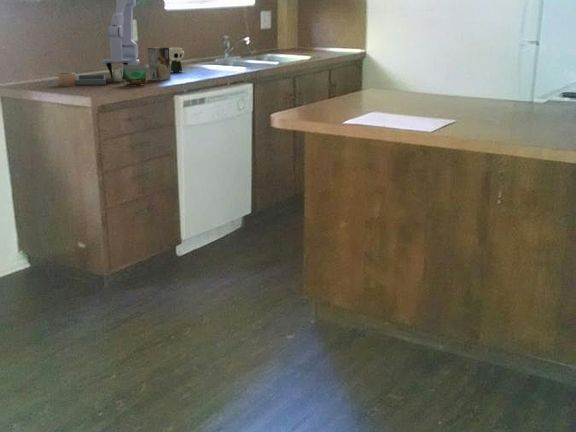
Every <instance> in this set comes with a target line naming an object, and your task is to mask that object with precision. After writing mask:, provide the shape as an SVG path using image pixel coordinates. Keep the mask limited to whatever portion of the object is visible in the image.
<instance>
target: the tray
mask: <svg viewBox="0 0 576 432" xmlns="http://www.w3.org/2000/svg"><path fill="white" fill-rule="evenodd" d="M106 85H107V75H106V74H77V75H76V86H106Z"/></svg>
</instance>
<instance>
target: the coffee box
mask: <svg viewBox="0 0 576 432" xmlns="http://www.w3.org/2000/svg"><path fill="white" fill-rule="evenodd" d="M169 48H170V47H164V46H157V47H147V57H148V58H147V59H148V77H149V81H155V80H156V81H165V80H171V62H170V61H171V60H170V58H169Z"/></svg>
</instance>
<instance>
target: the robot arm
mask: <svg viewBox="0 0 576 432" xmlns="http://www.w3.org/2000/svg"><path fill="white" fill-rule="evenodd" d="M115 2H116V5H115V6H116V7H115V12H114V13H113V14H112V17H111V21H110V25H109V26H108V27H107V31H106V32H107V37H108V41H109V49H110V58H109V59H107V58H106V59H101V63H102V64H101V65H104V64H105V65H106V68H107V69H108V71H109V74H110V78H111V79H114V74H113V67H112V64H121V69H122V67H123V64H124V65H141V64H140V59H138V57H139V46H138V45H139V44H138V43H137V42H135V40H133V31H134V30H133V27H134V26H133V25H134V24H133V23H134V17H133V16H134V13H133V12H134V8H135V7H136V6H137V0H115ZM122 79H125V74H124V69H122Z"/></svg>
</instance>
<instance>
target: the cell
mask: <svg viewBox="0 0 576 432" xmlns="http://www.w3.org/2000/svg"><path fill="white" fill-rule="evenodd" d="M112 71H113V82H123V77H122V68H120V67H119V66H117V67H114V68H112Z"/></svg>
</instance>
